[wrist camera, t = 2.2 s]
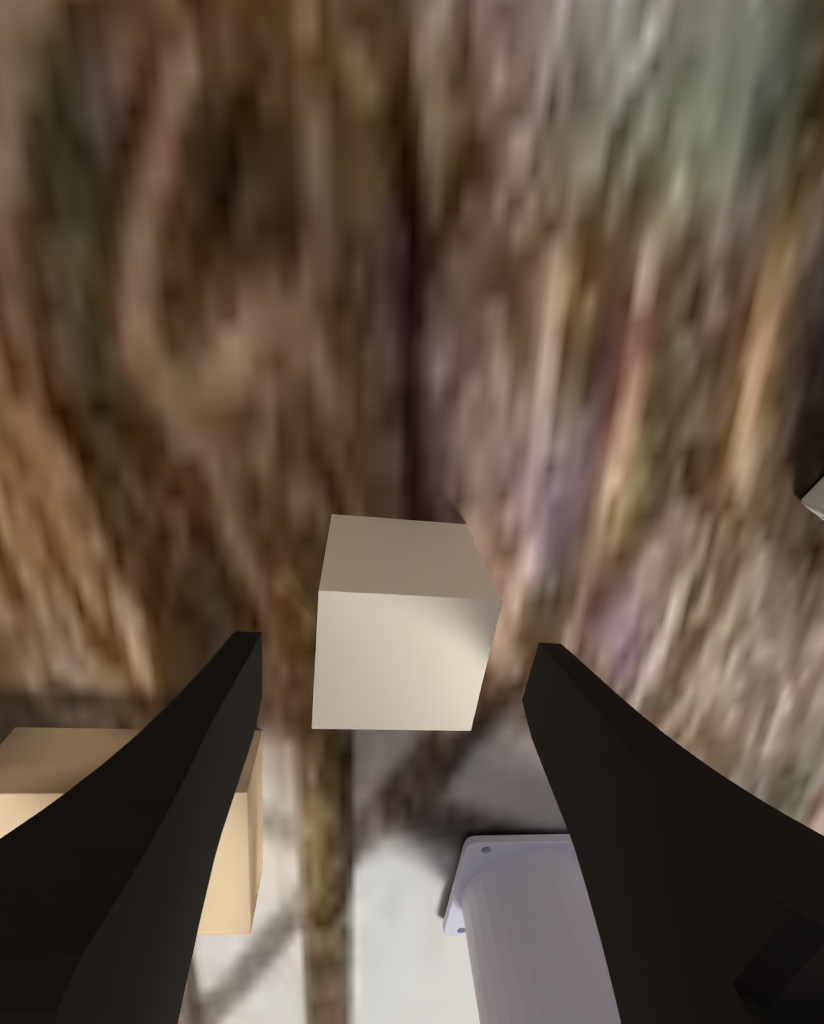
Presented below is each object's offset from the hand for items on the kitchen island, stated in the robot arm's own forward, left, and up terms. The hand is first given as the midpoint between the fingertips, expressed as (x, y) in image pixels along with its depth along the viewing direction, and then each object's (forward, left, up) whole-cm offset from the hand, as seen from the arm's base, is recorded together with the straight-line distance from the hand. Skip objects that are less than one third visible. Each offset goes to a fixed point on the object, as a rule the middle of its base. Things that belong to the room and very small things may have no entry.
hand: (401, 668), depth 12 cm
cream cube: (0, 0, -5) cm, 5 cm away
